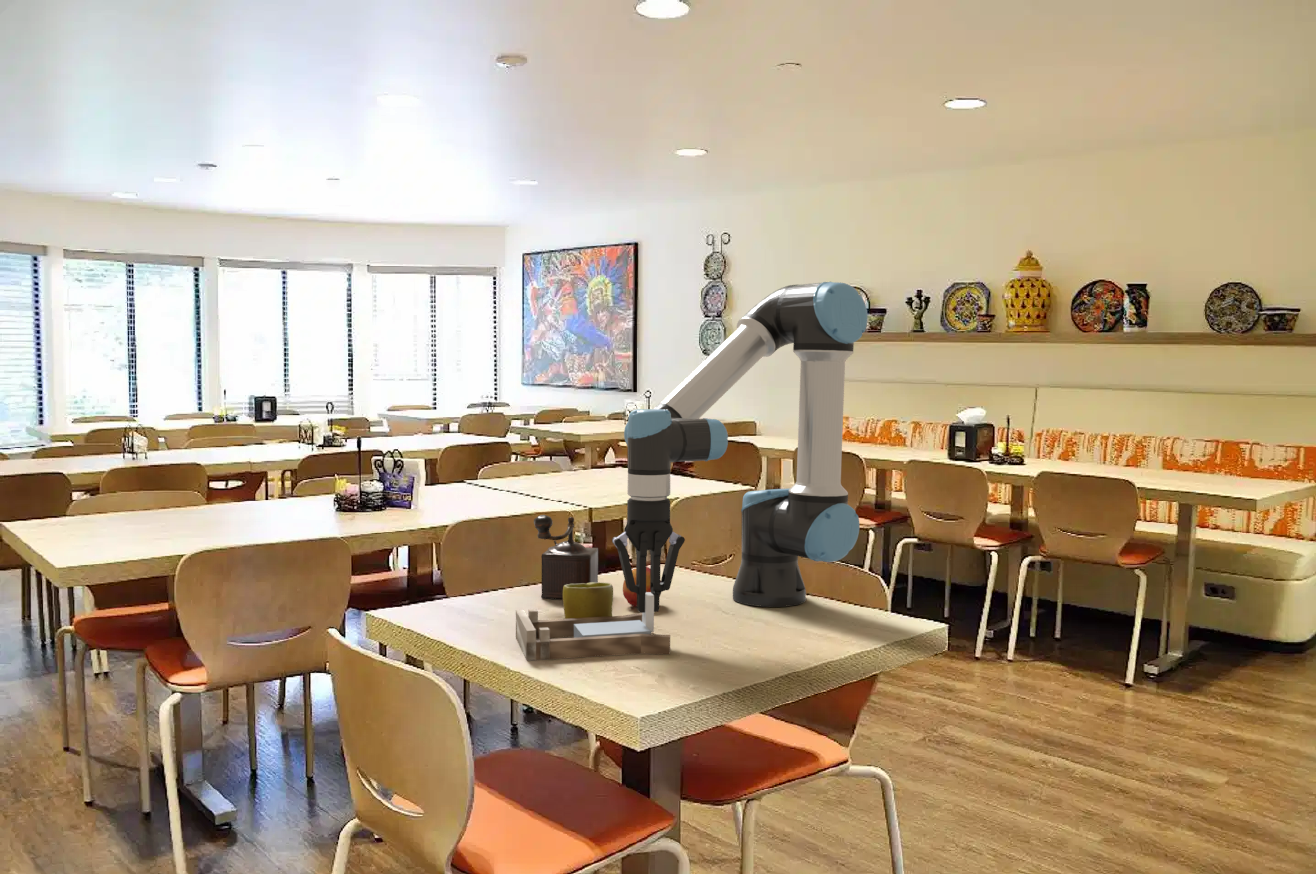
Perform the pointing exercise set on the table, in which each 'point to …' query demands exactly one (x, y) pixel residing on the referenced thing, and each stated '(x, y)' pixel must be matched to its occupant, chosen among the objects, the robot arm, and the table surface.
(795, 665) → the table surface
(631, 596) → the fruit
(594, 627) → the pale blue block
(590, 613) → the mug
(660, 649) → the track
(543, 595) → the manual coffee grinder
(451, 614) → the table surface
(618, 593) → the table surface
